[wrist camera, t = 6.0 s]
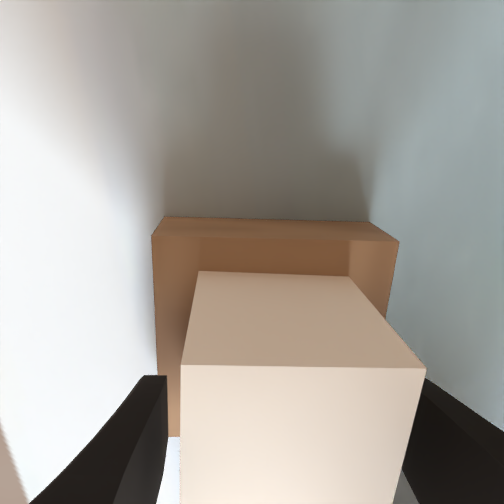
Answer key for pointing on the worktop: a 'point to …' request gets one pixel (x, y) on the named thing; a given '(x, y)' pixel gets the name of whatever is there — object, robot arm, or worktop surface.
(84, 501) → the robot arm
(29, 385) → the worktop surface
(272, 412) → the cube
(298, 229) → the base block
